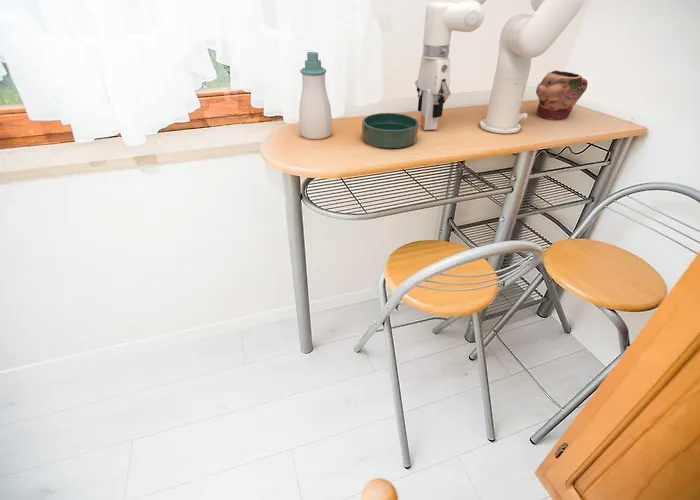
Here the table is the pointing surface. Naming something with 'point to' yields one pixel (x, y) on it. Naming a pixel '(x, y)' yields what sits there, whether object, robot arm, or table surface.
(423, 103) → the cosmetic box
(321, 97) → the soap bottle
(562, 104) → the decorative planter
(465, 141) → the table surface
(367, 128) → the bowl
